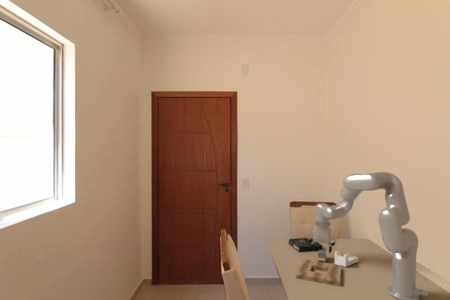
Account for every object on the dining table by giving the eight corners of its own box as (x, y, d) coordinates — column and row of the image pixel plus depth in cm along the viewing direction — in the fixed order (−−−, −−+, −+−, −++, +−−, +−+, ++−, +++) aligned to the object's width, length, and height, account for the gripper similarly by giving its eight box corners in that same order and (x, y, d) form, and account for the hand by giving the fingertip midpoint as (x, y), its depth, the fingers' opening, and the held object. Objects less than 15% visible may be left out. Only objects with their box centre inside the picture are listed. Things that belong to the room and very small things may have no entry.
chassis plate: (341, 268, 165) (341, 265, 165) (340, 286, 145) (340, 282, 145) (302, 262, 174) (302, 259, 174) (295, 278, 154) (295, 274, 154)
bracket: (345, 268, 166) (345, 255, 166) (334, 264, 172) (334, 251, 172) (358, 263, 174) (358, 250, 173) (347, 259, 179) (347, 247, 179)
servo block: (326, 258, 180) (326, 249, 180) (324, 264, 171) (324, 254, 170) (319, 257, 181) (319, 248, 181) (317, 263, 172) (317, 253, 172)
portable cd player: (288, 244, 206) (288, 239, 206) (310, 242, 209) (310, 237, 209) (298, 253, 190) (298, 247, 190) (322, 251, 193) (322, 245, 193)
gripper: (337, 224, 176) (336, 251, 176) (308, 220, 182) (307, 247, 183) (337, 227, 169) (336, 256, 169) (306, 223, 175) (306, 251, 176)
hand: (321, 251), depth 176 cm, fingers open, 9 cm apart
